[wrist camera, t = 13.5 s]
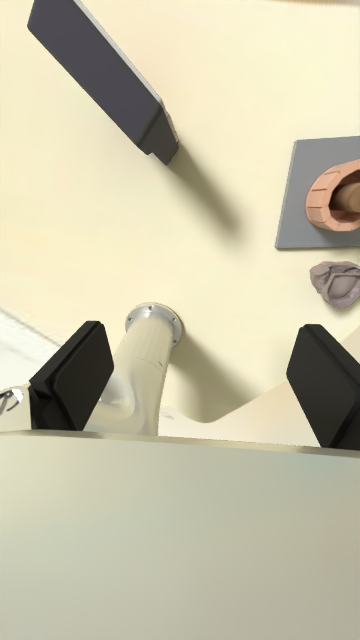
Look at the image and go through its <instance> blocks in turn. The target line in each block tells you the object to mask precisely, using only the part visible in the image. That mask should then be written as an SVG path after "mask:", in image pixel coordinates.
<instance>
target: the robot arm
mask: <svg viewBox="0 0 360 640" xmlns="http://www.w3.org/2000/svg"><path fill="white" fill-rule="evenodd" d="M150 306H151V307H150ZM174 318H175V319H174ZM125 329H126V335H125V336H124V338H123V340H122V342H121V343H120V345H119V347H118V349H117V350H116V352H115V354H114V356H113V357H112V354H111V350H110V346H109V343H108V339H107V335H106V331H105V327H104V325H103V324H101V323H100V322H99V321H86V322H85V323H84V324H83V325H82V326H81V327H80V328H79V329H78V330H77V331H76V332H75V333H74V334H73V335H72V336H71V337H70V339H69V340H68V341H67V342H66V343H65V344H64V345H63V346H62V347H61V348H60V349H59V350H58V351H57V352H56V353H55V354H54V355H53V356H52V357H51V358H50V359H49V360H48V361H47V362H46V364H45V365H44V366H43V367H42V368H41V369H40V370H39V371H38V372H37V373H36V374H35V375H34V376H33V377H32V378H31V379H30V380H29V382H30V383H28V384H25V385H23V386H15V387H10V388H7V389H4V390H2V391H0V640H360V364H359V363H358V362H357V361H356V360H355V359H354V358H353V357H352V356H351V355H350V354H349V353H348V352H347V351H346V350H345V349H344V348H343V347H342V346H341V345H340V343H339V342H338V341H337V340H336V339H335V338H334V337H333V336H332V335H331V334H330V333H329V332H328V331H327V330H326V329H325V328H324V327H323V326H322V325H320V324H305V325H304V326H303V327H301V328H300V329H299V332H298V335H297V338H296V341H295V345H294V348H293V351H292V355H291V358H290V361H289V364H288V368H287V372H286V375H287V379H288V381H289V383H290V385H291V387H292V389H293V391H294V393H295V395H296V397H297V399H298V401H299V403H300V405H301V407H302V409H303V411H304V413H305V415H306V417H307V419H308V421H309V423H310V425H311V428H312V429H313V432H314V434H315V436H316V438H317V440H318V441H319V444H320V446H321V447H310V446H309V447H308V446H296V445H282V444H267V443H255V442H241V441H227V440H212V439H196V438H183V437H167V436H158V421H159V410H160V403H161V398H162V392H163V387H164V383H165V378H166V373H167V368H168V363H169V358H170V353H171V349H172V348H173V347H174V346H175V345H176V344H177V343H178V342H179V340H180V337H181V333H182V326H181V322H180V320H179V318H178V317H177V315H176V314H175V313H174V312H173V311H172V310H171V309H169V308H168V307H166V306H164V305H161V304H157V303H144V304H141V305H138V306H137V307H135V308H134V309H132V310H131V312H130V313H129V314H128V316H127V318H126V322H125ZM100 397H101V401H98V400H99V399H100Z"/></svg>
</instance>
